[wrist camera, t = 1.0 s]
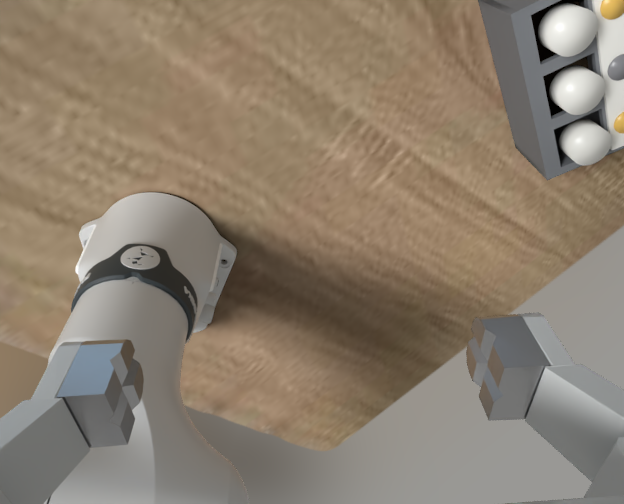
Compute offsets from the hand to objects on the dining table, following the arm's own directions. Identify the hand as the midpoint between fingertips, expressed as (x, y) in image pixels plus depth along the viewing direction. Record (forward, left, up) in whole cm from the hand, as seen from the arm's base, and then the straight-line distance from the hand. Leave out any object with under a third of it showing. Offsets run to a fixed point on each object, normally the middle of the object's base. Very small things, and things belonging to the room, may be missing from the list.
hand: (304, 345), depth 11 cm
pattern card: (+3, -29, -34) cm, 45 cm away
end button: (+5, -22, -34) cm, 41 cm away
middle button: (+1, -26, -34) cm, 43 cm away
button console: (+2, -26, -42) cm, 50 cm away
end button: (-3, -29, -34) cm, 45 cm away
